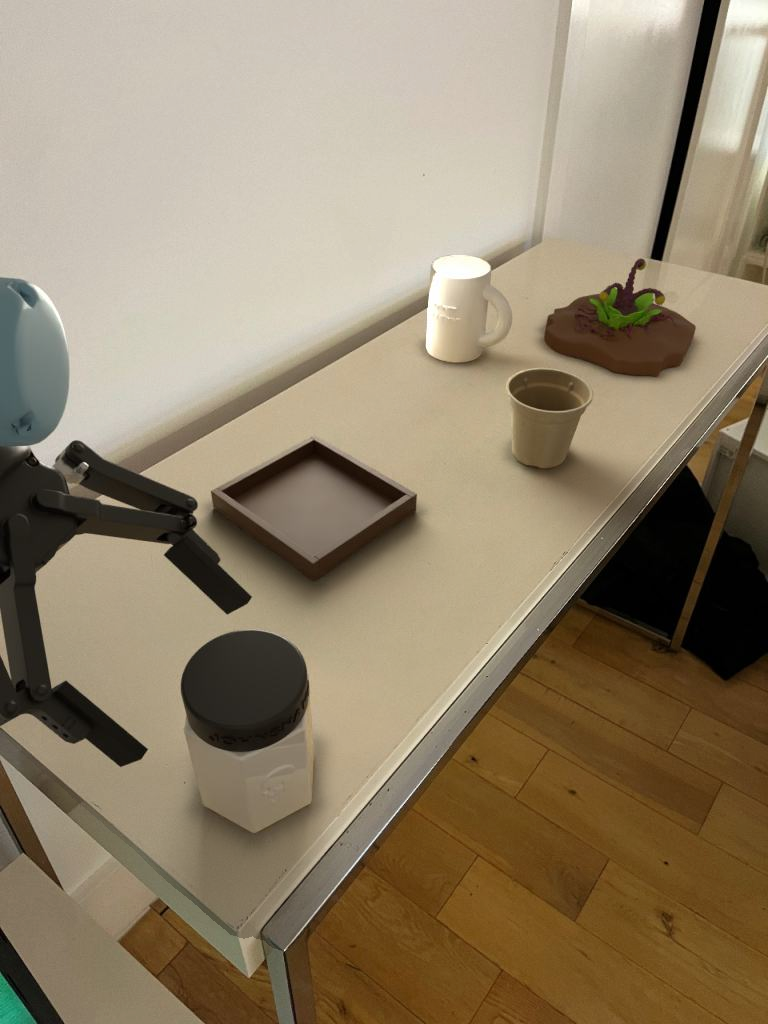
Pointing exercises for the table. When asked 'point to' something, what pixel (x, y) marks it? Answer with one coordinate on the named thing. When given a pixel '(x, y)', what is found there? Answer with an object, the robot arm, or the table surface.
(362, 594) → the table surface
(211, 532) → the table surface
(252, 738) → the jar
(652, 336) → the plant
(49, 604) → the table surface
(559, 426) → the flower pot
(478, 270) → the mug
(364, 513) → the tray
